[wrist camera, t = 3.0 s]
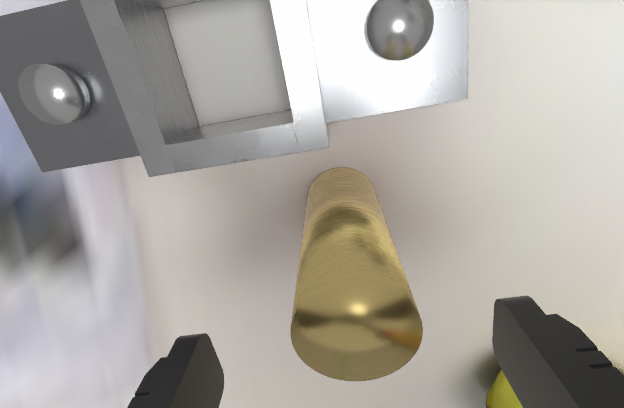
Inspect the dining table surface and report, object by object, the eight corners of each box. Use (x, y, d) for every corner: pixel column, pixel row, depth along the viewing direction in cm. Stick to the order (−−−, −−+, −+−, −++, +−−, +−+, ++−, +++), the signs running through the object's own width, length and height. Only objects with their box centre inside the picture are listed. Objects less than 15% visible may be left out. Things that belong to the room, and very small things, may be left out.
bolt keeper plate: (444, -89, 14) (488, -142, 10) (447, 107, 17) (482, 121, 13) (9, 11, 16) (-88, -2, 12) (83, 169, 19) (24, 197, 15)
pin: (371, 162, 18) (419, 273, 9) (378, 224, 19) (425, 375, 10) (301, 173, 18) (278, 290, 9) (313, 233, 20) (303, 386, 11)
